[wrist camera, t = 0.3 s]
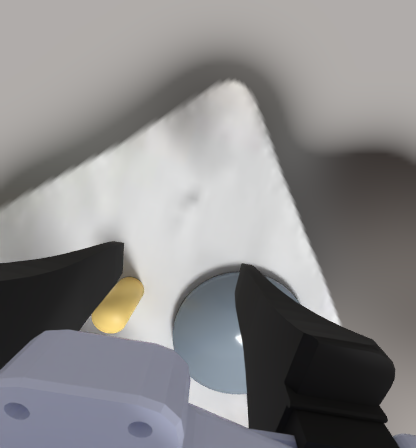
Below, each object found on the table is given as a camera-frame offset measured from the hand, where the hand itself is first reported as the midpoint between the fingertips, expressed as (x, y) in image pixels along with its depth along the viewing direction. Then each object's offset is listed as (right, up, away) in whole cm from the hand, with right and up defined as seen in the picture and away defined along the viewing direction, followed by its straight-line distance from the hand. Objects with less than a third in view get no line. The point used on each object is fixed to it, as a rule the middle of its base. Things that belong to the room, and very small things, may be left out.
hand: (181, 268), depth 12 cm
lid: (+5, -11, +12) cm, 17 cm away
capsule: (-7, -5, +11) cm, 14 cm away
